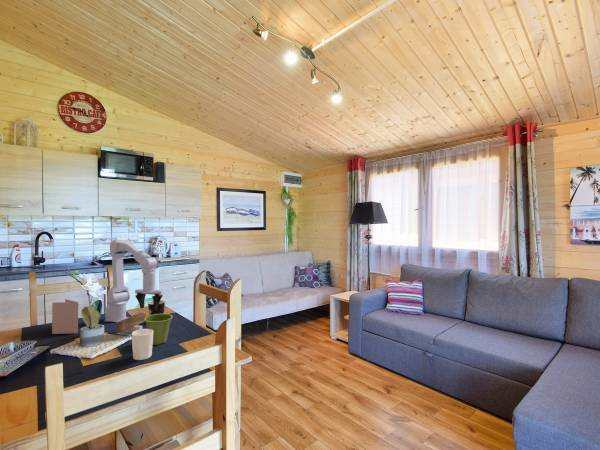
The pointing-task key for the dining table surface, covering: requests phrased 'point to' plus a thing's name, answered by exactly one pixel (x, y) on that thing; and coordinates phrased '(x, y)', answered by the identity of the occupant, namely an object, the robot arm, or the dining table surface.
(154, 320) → the plant pot
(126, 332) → the fulcrum
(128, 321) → the walnut bar
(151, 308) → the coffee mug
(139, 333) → the white cup
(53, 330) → the greeting card
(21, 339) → the dining table surface
